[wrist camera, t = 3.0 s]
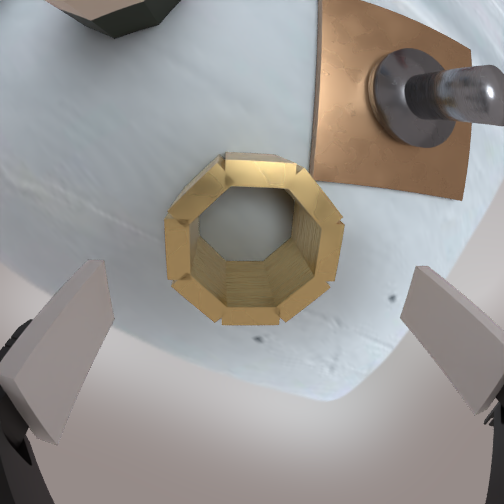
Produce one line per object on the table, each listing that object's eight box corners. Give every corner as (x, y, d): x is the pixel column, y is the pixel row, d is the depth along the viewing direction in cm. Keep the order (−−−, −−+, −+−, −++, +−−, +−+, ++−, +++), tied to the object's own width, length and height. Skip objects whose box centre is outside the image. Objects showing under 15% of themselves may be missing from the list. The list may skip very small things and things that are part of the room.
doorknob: (308, 177, 19) (374, 217, 10) (318, -5, 14) (375, -71, 5) (455, 197, 21) (535, 235, 12) (463, 50, 15) (542, 42, 7)
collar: (183, 274, 21) (171, 323, 16) (182, 151, 18) (163, 159, 12) (301, 276, 22) (325, 323, 16) (315, 158, 19) (352, 169, 13)
